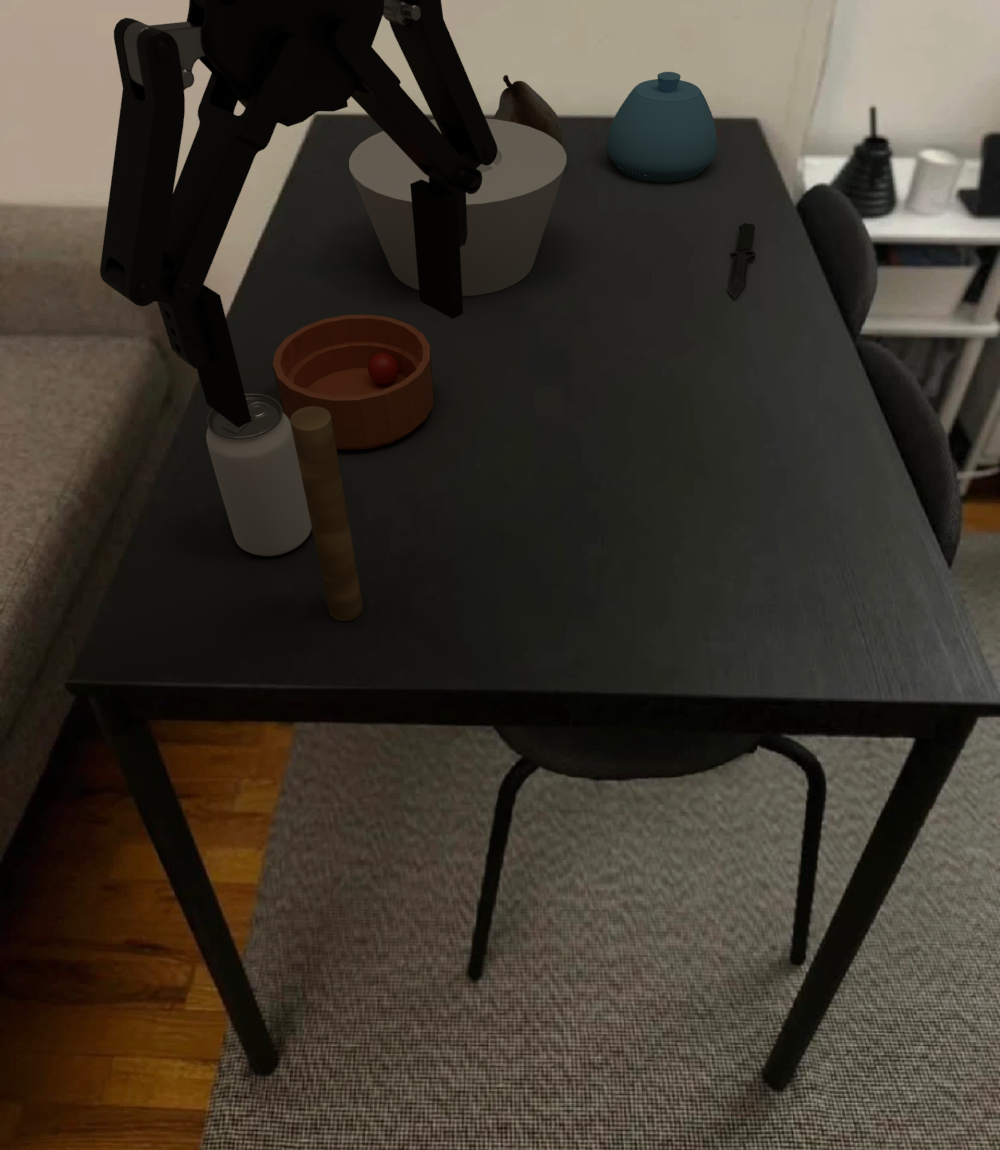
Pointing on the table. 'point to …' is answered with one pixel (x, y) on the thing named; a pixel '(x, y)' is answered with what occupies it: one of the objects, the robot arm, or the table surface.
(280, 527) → the can
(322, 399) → the stir bowl
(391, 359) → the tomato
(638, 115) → the sugar bowl
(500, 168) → the grey tapered cylinder
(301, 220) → the table surface
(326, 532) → the stick
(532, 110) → the fruit
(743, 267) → the knife
